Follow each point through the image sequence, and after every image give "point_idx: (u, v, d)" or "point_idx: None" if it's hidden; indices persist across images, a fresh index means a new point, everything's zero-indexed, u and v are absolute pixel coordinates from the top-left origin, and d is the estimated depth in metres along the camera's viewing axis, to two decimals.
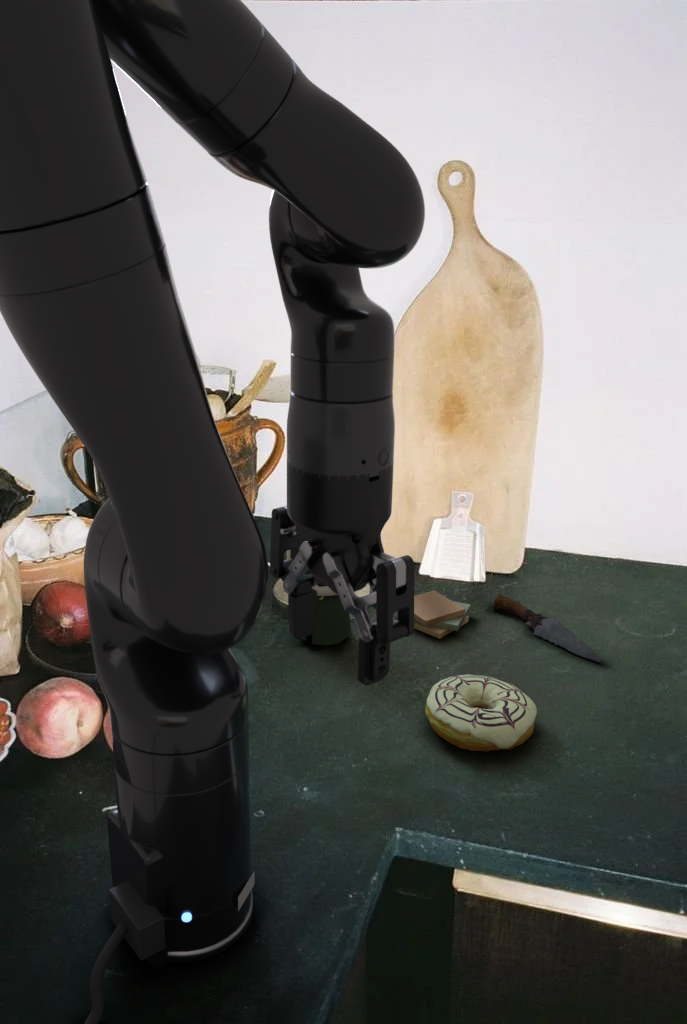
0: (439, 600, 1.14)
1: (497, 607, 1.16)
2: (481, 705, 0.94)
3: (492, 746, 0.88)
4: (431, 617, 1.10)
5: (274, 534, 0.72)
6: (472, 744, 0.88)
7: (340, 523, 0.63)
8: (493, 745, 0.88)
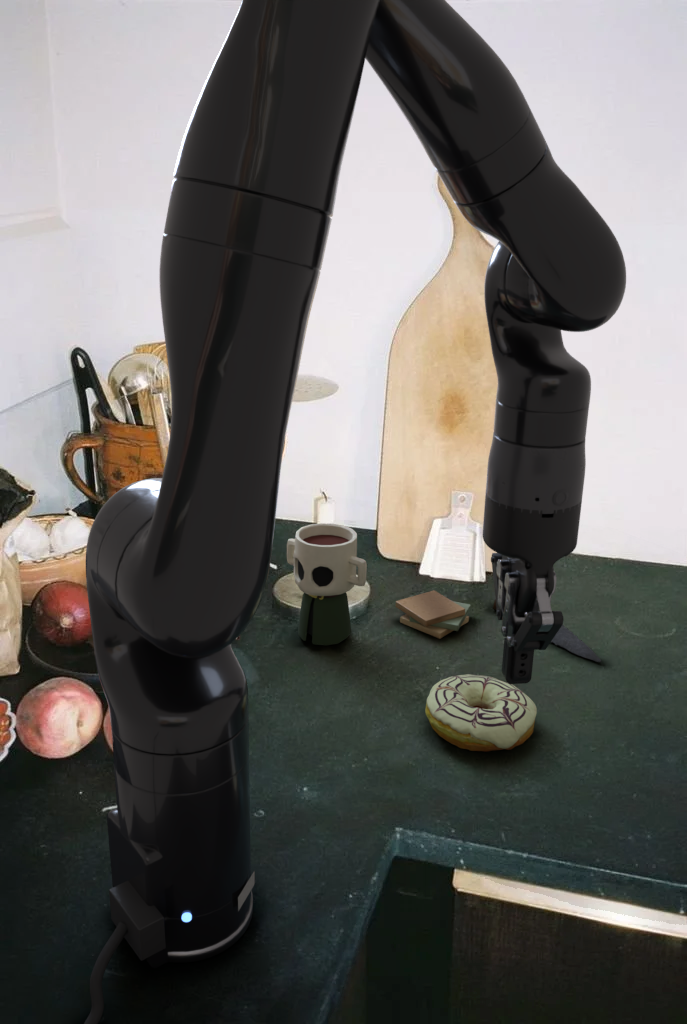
0: (439, 600, 1.14)
1: None
2: (481, 705, 0.94)
3: (492, 746, 0.88)
4: (431, 617, 1.10)
5: (494, 578, 0.82)
6: (472, 744, 0.88)
7: (512, 548, 0.72)
8: (493, 745, 0.88)
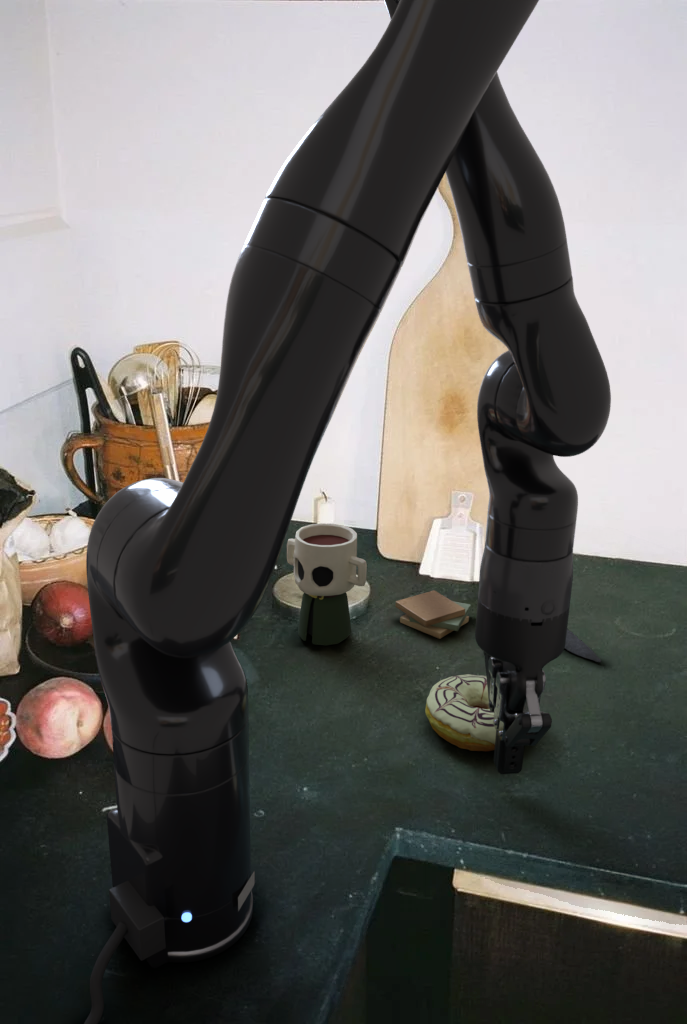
0: (439, 600, 1.14)
1: None
2: (481, 705, 0.94)
3: (492, 746, 0.88)
4: (431, 617, 1.10)
5: (486, 670, 0.85)
6: (472, 744, 0.88)
7: (503, 653, 0.76)
8: (493, 745, 0.88)
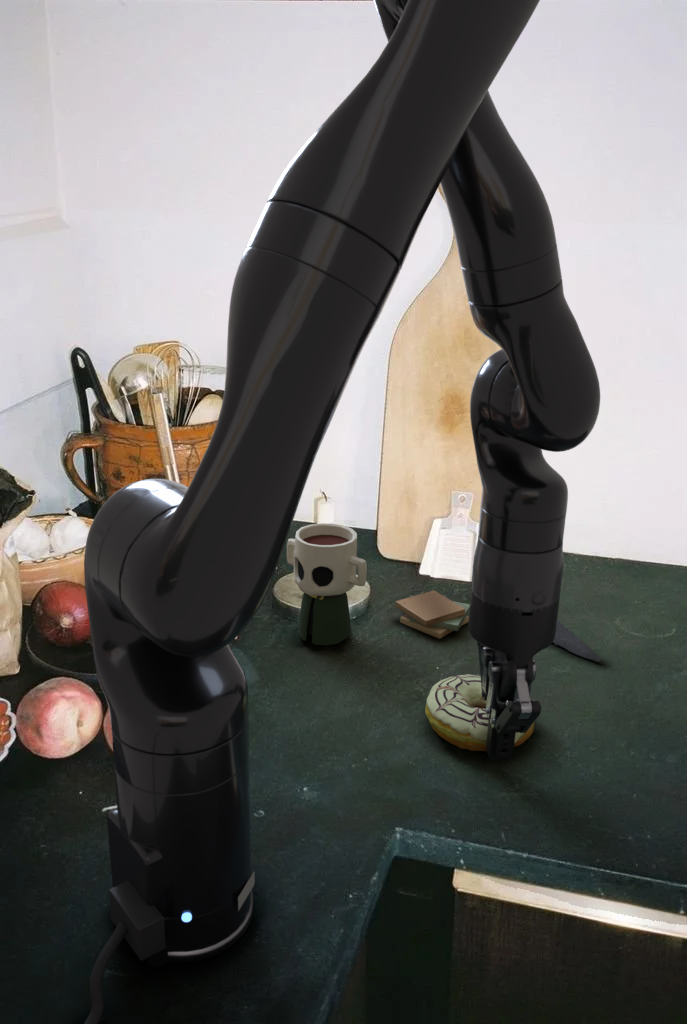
0: (439, 600, 1.14)
1: None
2: (481, 705, 0.94)
3: None
4: (431, 617, 1.10)
5: (480, 660, 0.88)
6: (472, 744, 0.88)
7: (495, 642, 0.78)
8: None
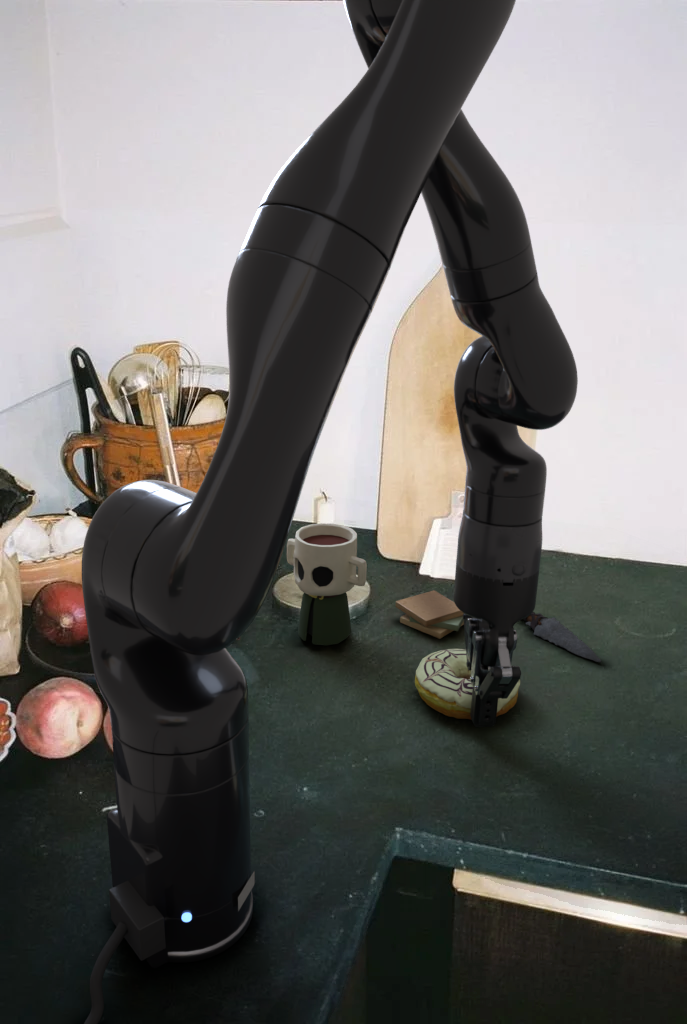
0: (439, 600, 1.14)
1: None
2: (468, 677, 0.98)
3: None
4: (431, 617, 1.10)
5: (465, 632, 0.93)
6: (457, 712, 0.93)
7: (478, 611, 0.83)
8: None
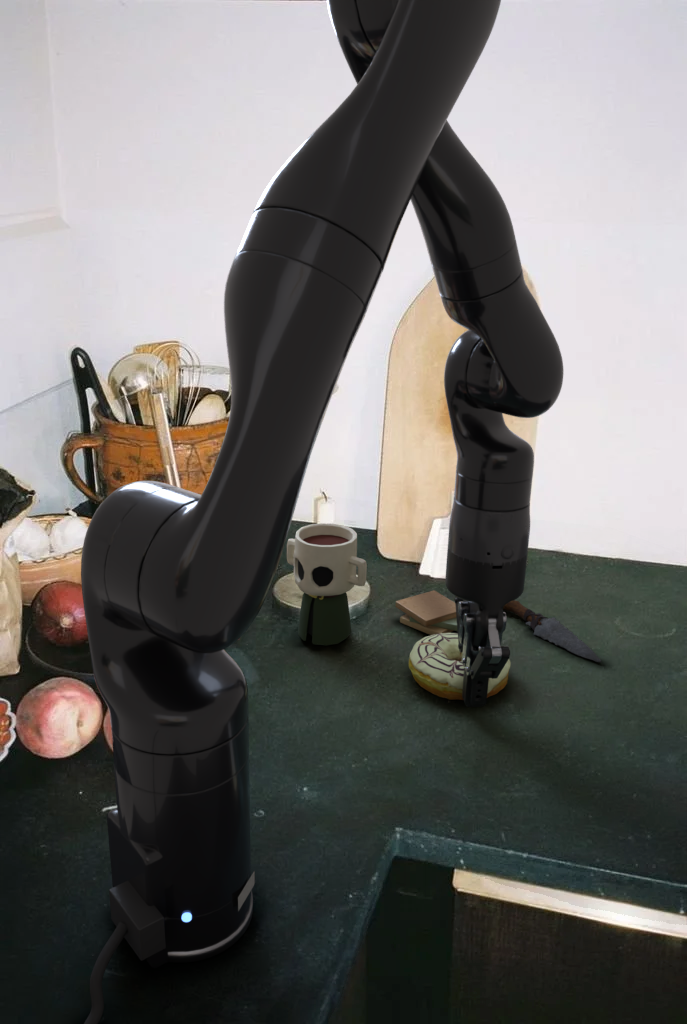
0: (439, 600, 1.14)
1: None
2: (460, 659, 1.02)
3: None
4: (431, 617, 1.10)
5: (457, 616, 0.96)
6: (449, 693, 0.96)
7: (468, 593, 0.87)
8: None
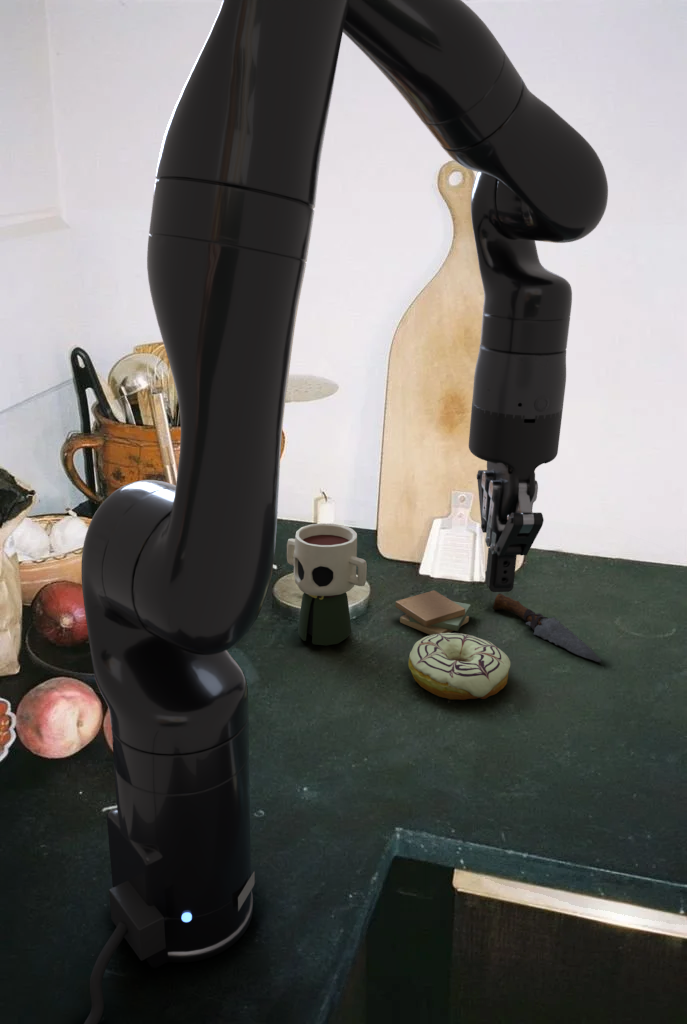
0: (439, 600, 1.14)
1: (497, 607, 1.16)
2: (460, 659, 1.02)
3: (468, 694, 0.96)
4: (431, 617, 1.10)
5: (479, 493, 0.86)
6: (449, 693, 0.96)
7: (496, 453, 0.77)
8: (468, 694, 0.96)
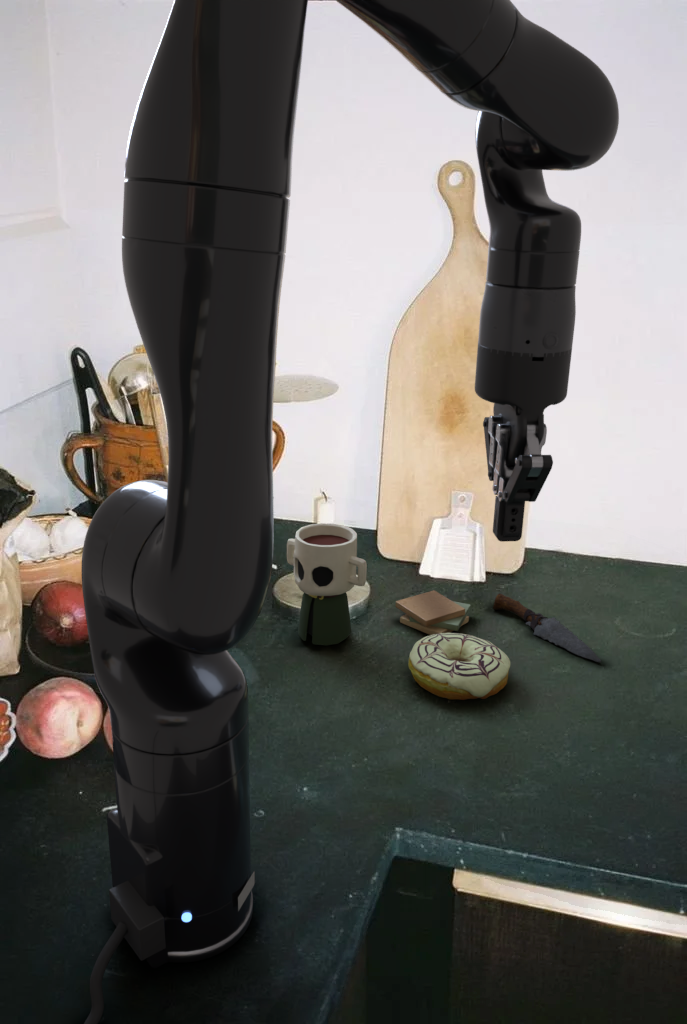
0: (439, 600, 1.14)
1: (497, 607, 1.16)
2: (460, 659, 1.02)
3: (468, 694, 0.96)
4: (431, 617, 1.10)
5: (486, 441, 0.83)
6: (449, 693, 0.96)
7: (503, 394, 0.74)
8: (468, 694, 0.96)
